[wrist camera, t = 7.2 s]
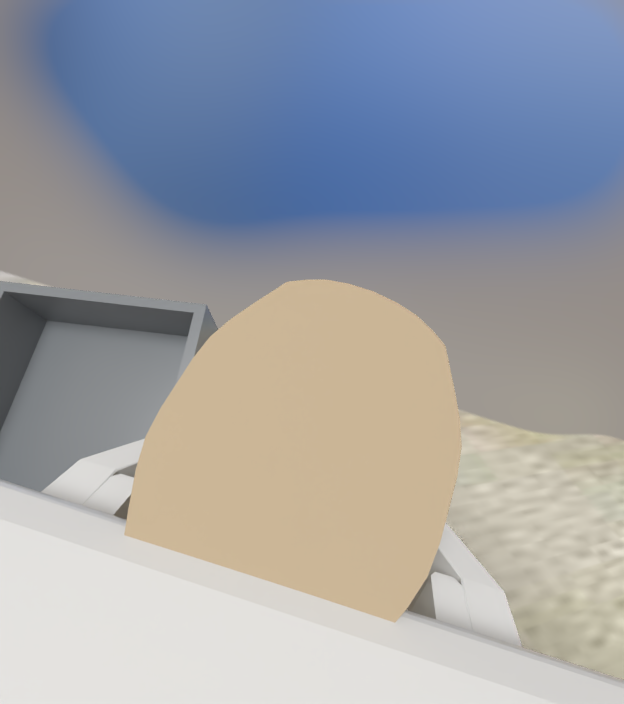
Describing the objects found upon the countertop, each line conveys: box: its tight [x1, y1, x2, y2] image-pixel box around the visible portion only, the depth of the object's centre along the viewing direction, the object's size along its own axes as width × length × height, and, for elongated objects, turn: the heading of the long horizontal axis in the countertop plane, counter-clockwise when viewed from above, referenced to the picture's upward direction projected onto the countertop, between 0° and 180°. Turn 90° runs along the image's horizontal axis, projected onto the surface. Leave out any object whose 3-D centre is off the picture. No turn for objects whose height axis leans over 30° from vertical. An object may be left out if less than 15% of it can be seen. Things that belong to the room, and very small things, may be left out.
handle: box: [124, 280, 462, 623], centre depth 13 cm, size 5×6×15 cm
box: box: [0, 281, 218, 492], centre depth 27 cm, size 16×16×6 cm
